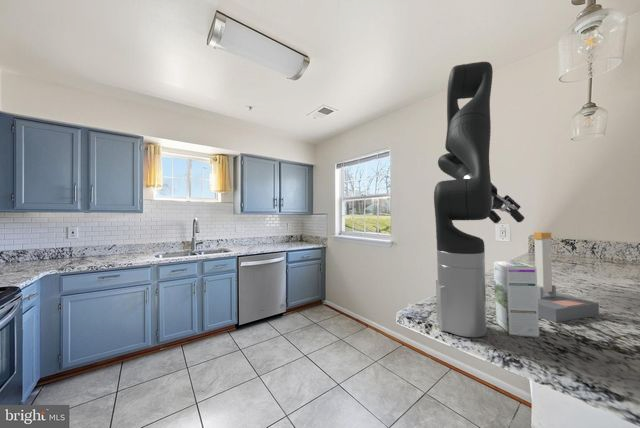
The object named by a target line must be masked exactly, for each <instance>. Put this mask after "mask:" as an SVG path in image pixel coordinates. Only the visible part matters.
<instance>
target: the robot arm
mask: <svg viewBox="0 0 640 428" xmlns="http://www.w3.org/2000/svg"><path fill="white" fill-rule="evenodd" d="M493 75H494V73H493V66H492V64H491V63H490V62H489V61H478V62H471V63H463V64H459V65H455V66H453V67H452V68H451V70H450V73H449V76H448V79H447V80H448V81H447V92H446V94H447V95H446V116H447V117H446V119H447V122H446V123H447V125H446V126H447V127H446V128H447V129H446V135H445V136H446V137H445V146H444V148H445V150H446V151H447V152H448V153H445V154H443V155H440V156H439V158H438V159H437V166H438V168H439V169H440V171H442V172H443V173H444V174H447V176H450V177H451V178H453V179H449V180H442V181H438V182H437V183H436V185H435V187H434V190H433V191H434V192H433V205H434V218H435V229H436V231H435V234H436V235H435V237H436V261H437V262H436V263H437V264H436V265H437V266H436V267H437V268H436V269H437V270H436V271H437V280H435V296H436V298H435V300H436V305H435V306H436V309H435V310H436V321H437V323H438V325H439V326H438V327H439V329H440V330H441V331H442V332H446V333H451V334H453V335H456V336H460V337H465V338H481V337H484V336H486V334H487V305H486V304H487V295H486V294H487V293H486V292H487V291H486V257H485V255H486V252H485V241H484V239H482V238H481V237H478V236H476V235H473V234H469V233H467V232H464V231H462V230H461V229H459V228H457V227H456V226H455V225H454V223H453V221H483V220H486V219H487V218H489V219H490V221H491V222H493V224H499V222H500V221H501V220H502V218H501V217H500V216H499V214H497V212H496V211H495V210H499V211H501V212H505V213H508V214H509V215H510V216H511V217H512V219H514V220H515V221H516V222H517V223H522V222H523V221H524V220H525V216H524V215H523V214H522V213H521V212H520V211H519V210H520V209H521V208H522V206H521V205H520V204H518V203H517V202H516V201H515V200H514V199H513V198H512V197H511V196H510V195H508V194H507V195H504V197H502V196H500V195H499V194H498V188H497V187H496V186H495V185H494V184H493V183H492V182H491V180H492V179H491V168H490V144H491V133H492V131H491V129H492V127H491V123H492V121H491V105H490V104H491V93H492V85H493V84H492V83H493ZM464 99H465V100H466V99H470V100H469V101H468V102H467V103H466V104H464V105H463V106H462V107H461V108H460V106H459V100H464Z"/></svg>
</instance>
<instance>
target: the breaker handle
mask: <svg viewBox="0 0 640 428" xmlns="http://www.w3.org/2000/svg"><path fill="white" fill-rule="evenodd" d="M533 239H534V265H535V266H534V267H536V269H537V286H540V287H543V293H547V292H552V285H553V273H552V268H553V267H552V232H547V231H546V232H544V231H542V232H541V231H539V232H533Z"/></svg>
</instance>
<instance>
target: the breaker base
mask: <svg viewBox="0 0 640 428" xmlns="http://www.w3.org/2000/svg"><path fill="white" fill-rule="evenodd" d="M537 294H538V317H539V318H543V319H545V320H549V321H551V322H553V323H554V322H555V323H561V322H567V321H573V320H580V319H586V318H587V319H588V318H591V317H597V316H598V317H599V316H600V312H599V311H600V308H599V307H600V306H599V302H596V301H595V302H594V301H591V300H589V299H588V300H587V299H583V298H580V297H575V296H572V295H569V294H568V295H567V294H564V293H560V292H557V286H556V285H555V284H552V292H547V293H543V287H540V286H537Z"/></svg>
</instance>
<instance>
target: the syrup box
mask: <svg viewBox="0 0 640 428" xmlns="http://www.w3.org/2000/svg"><path fill="white" fill-rule="evenodd" d="M493 279H494V280H493V281H494V283H493V285H494V309H495V310H494V311H495V312H494V313H495V324H496V325H498V326H499V327H500V328H501V329H502V330H504V331H505V332H506V333H507V334H509V335H511V336H519V337H520V336H521V337H534V338H537V337H538V338H539V337H540V324H539V323H540V322H539V320H540V316H538V294H537V269H536V267H535V266H533V265H531V264H527V263H523V262H520V261H513V260H512V261H511V260H504V261H503V260H501V261H500V260H499V261H493Z"/></svg>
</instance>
